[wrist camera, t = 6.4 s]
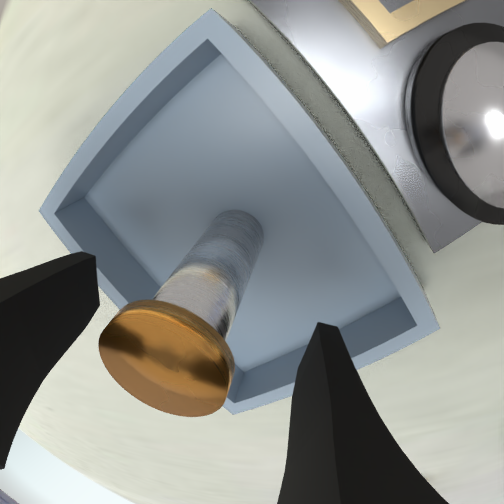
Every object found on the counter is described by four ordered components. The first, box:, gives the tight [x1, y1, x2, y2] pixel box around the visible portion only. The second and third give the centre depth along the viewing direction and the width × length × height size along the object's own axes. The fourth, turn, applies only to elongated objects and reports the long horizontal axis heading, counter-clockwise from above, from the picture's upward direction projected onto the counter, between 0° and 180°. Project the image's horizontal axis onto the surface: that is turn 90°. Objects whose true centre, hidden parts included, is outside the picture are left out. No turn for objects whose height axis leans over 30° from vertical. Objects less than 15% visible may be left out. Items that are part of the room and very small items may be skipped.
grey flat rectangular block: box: [248, 0, 504, 253], centre depth 8 cm, size 14×10×3 cm
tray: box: [39, 8, 440, 414], centre depth 13 cm, size 15×12×3 cm
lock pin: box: [99, 210, 264, 417], centre depth 11 cm, size 3×3×8 cm
